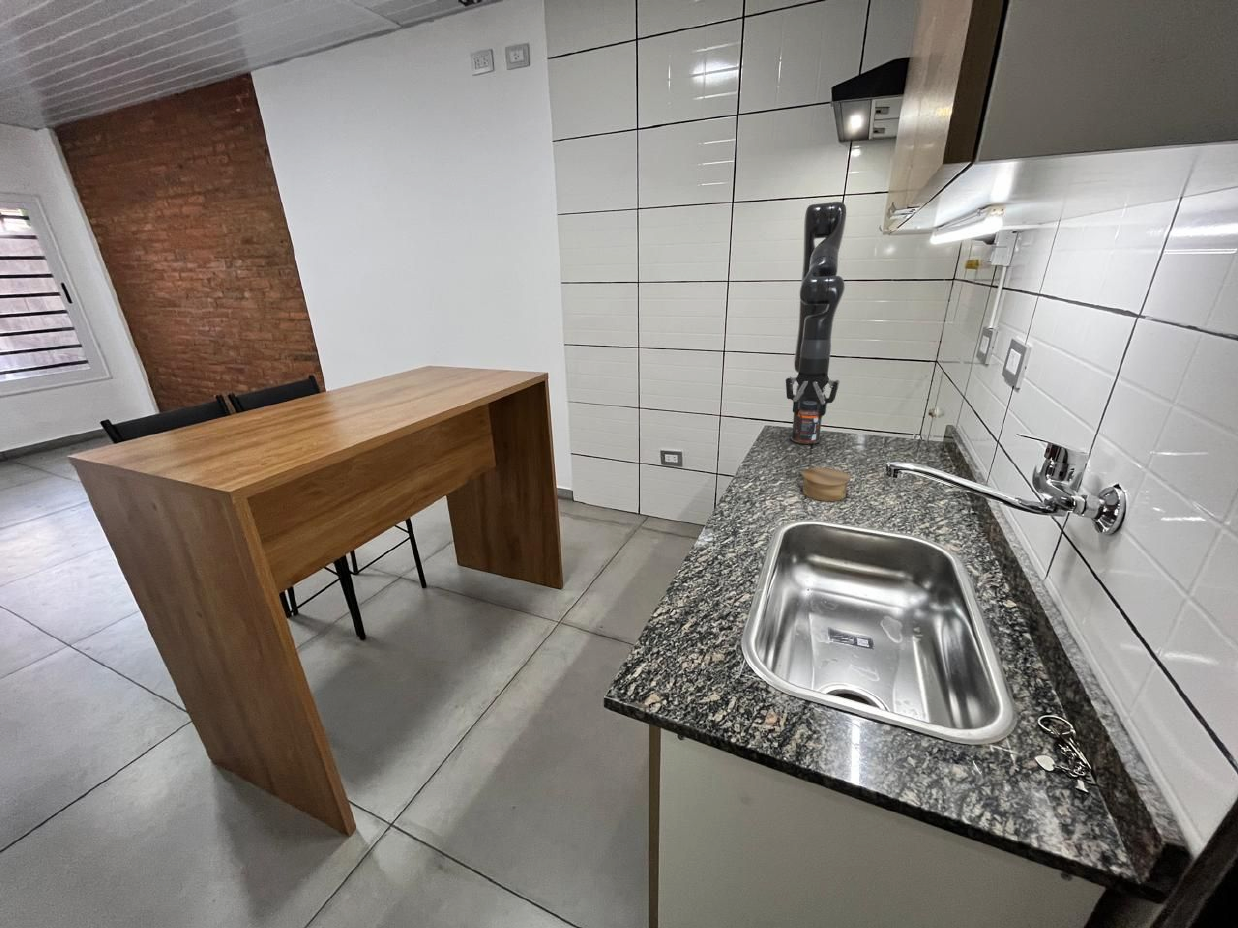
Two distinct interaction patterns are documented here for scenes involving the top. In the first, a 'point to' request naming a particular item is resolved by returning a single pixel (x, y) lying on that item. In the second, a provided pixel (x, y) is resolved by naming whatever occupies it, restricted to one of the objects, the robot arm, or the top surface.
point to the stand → (825, 483)
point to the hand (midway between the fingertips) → (808, 415)
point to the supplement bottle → (807, 423)
